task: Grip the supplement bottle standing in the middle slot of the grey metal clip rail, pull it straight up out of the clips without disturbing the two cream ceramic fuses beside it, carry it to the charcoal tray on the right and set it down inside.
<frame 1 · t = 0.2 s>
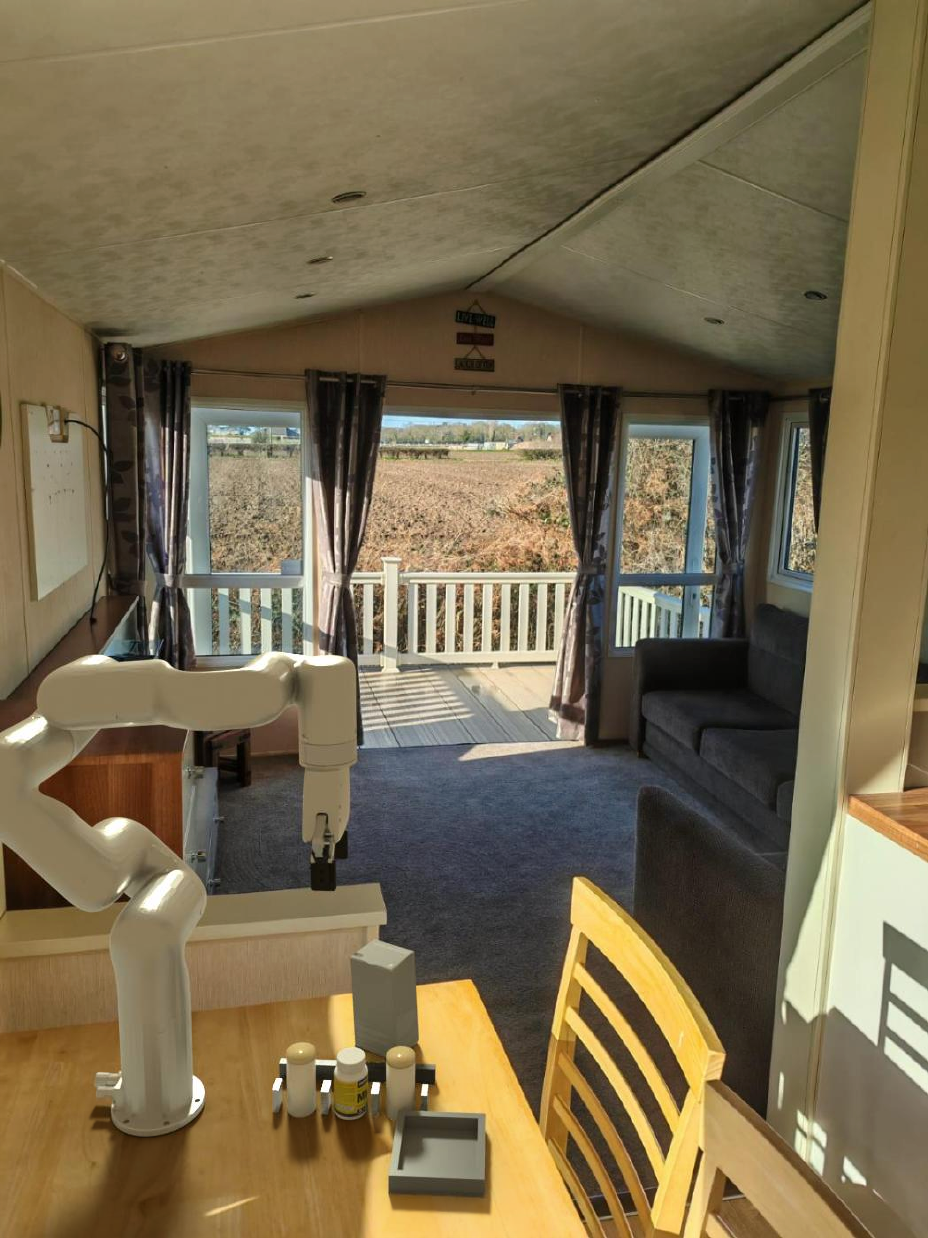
hand: (330, 873, 126), 36 cm above the table, tool pointing down, fingers open, 9 cm apart
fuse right: (400, 1111, 133), on the table
skincare box: (384, 1046, 148), on the table
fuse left: (301, 1107, 133), on the table
clip rail: (350, 1109, 133), on the table
tray: (439, 1160, 124), on the table
supplement bottle: (350, 1111, 133), on the table
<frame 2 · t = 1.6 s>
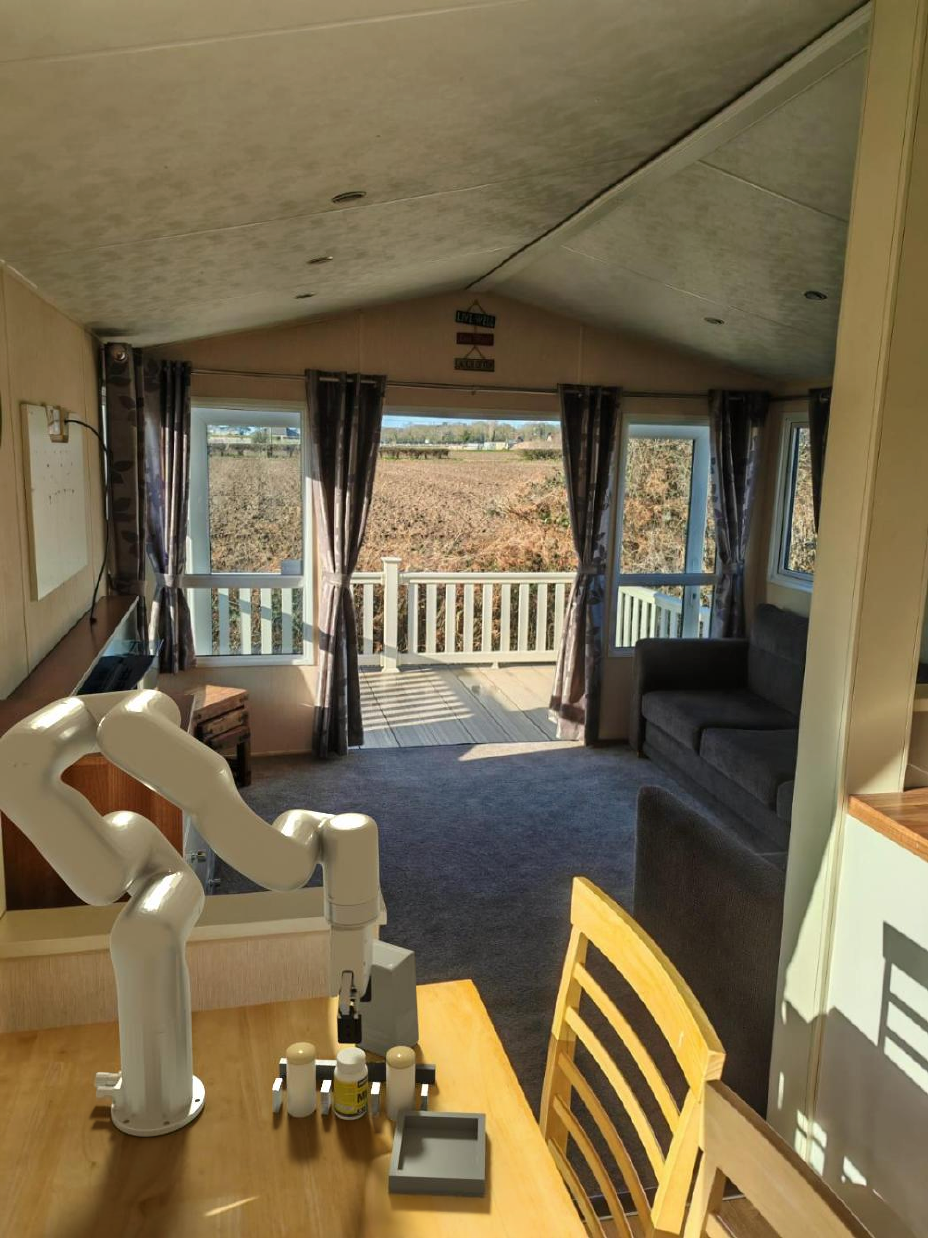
hand: (355, 1021, 131), 14 cm above the table, tool pointing down, fingers open, 9 cm apart
nothing on the table moved.
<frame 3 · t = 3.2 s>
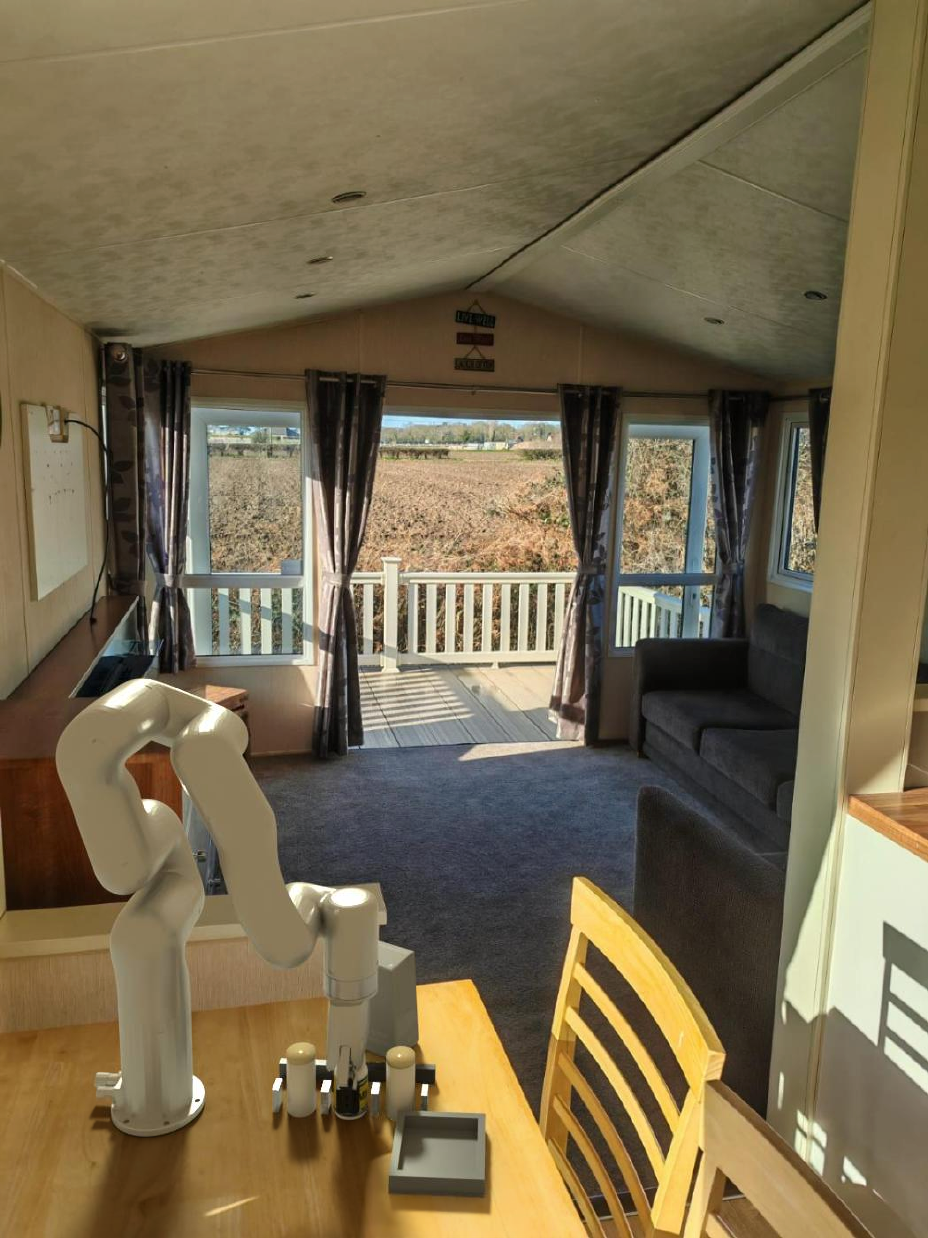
hand: (350, 1097, 133), 2 cm above the table, tool pointing down, fingers closed on supplement bottle, 4 cm apart
supplement bottle: (350, 1111, 133), on the table, touching gripper
everything else where it was.
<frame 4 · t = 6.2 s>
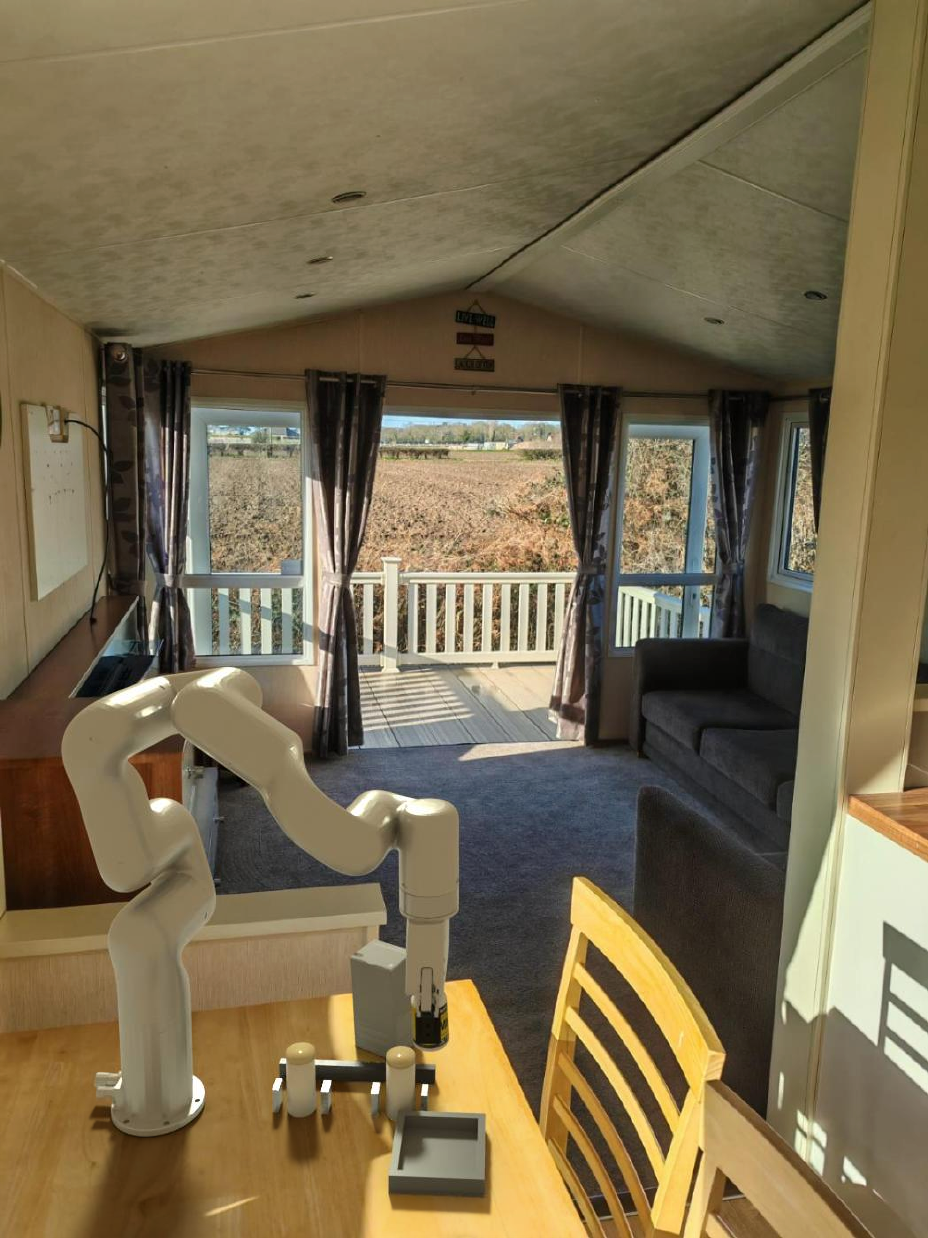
hand: (429, 1028, 122), 18 cm above the table, tool pointing down, fingers closed on supplement bottle, 4 cm apart
supplement bottle: (431, 1043, 123), point 16 cm above the table, touching gripper
everything else where it was.
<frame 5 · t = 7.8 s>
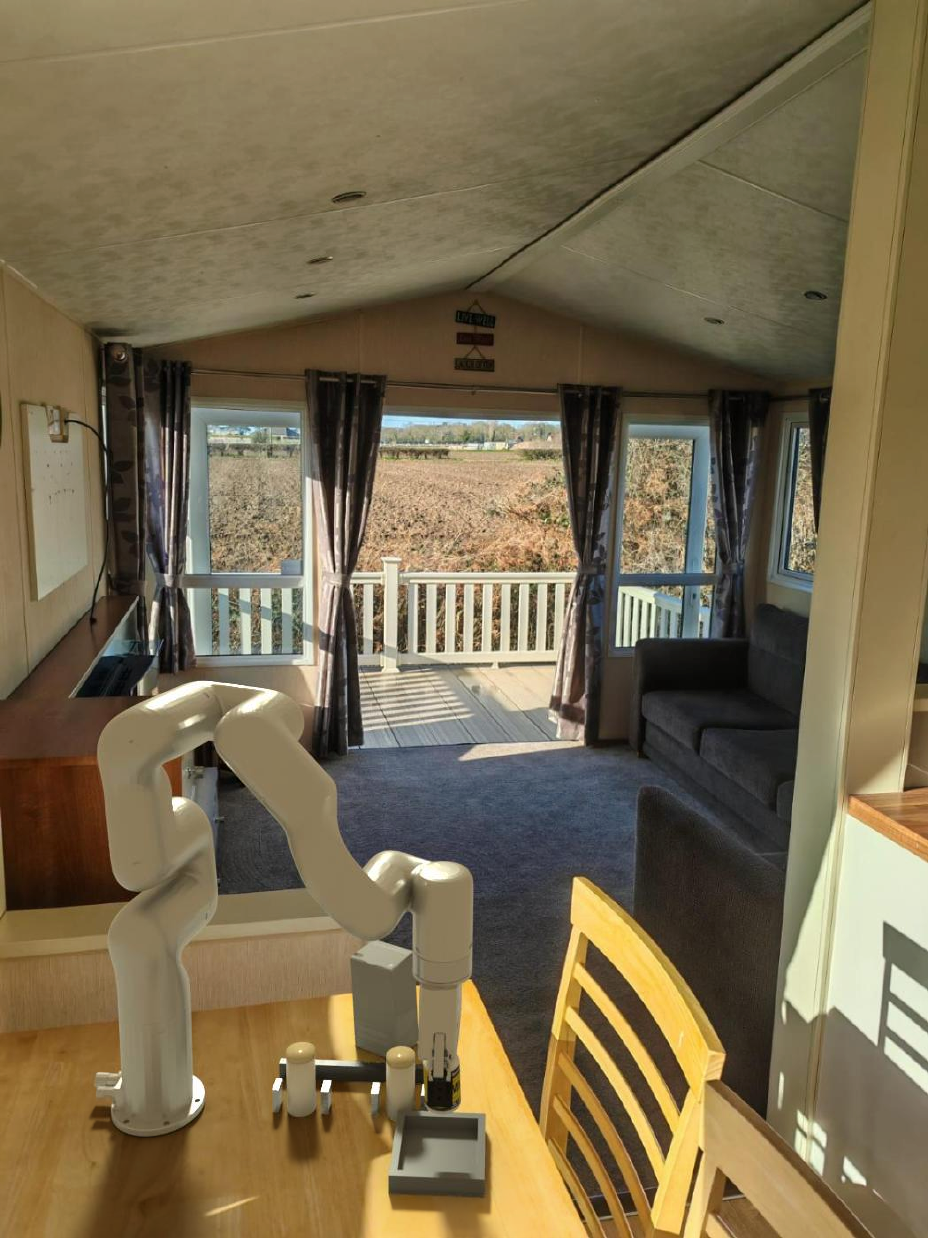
hand: (441, 1090, 122), 10 cm above the table, tool pointing down, fingers closed on supplement bottle, 4 cm apart
supplement bottle: (443, 1104, 122), point 8 cm above the table, touching gripper
everything else where it was.
when the fingers open (4 cm above the table, at t = 9.3 s): supplement bottle drops 1 cm, resting on tray.
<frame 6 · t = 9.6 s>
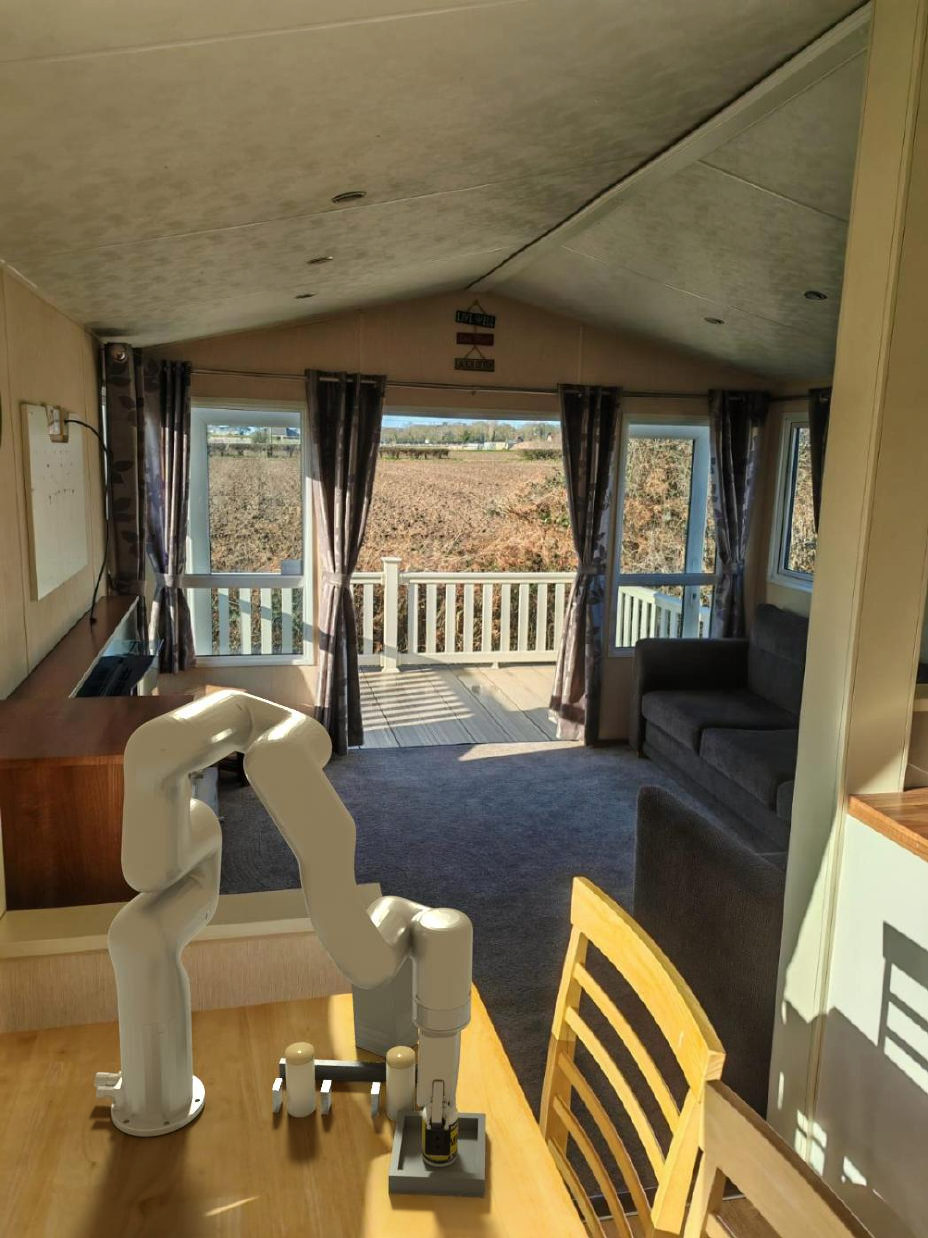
hand: (439, 1131, 123), 4 cm above the table, tool pointing down, fingers open, 7 cm apart
supplement bottle: (439, 1156, 124), resting on tray
everything else where it was.
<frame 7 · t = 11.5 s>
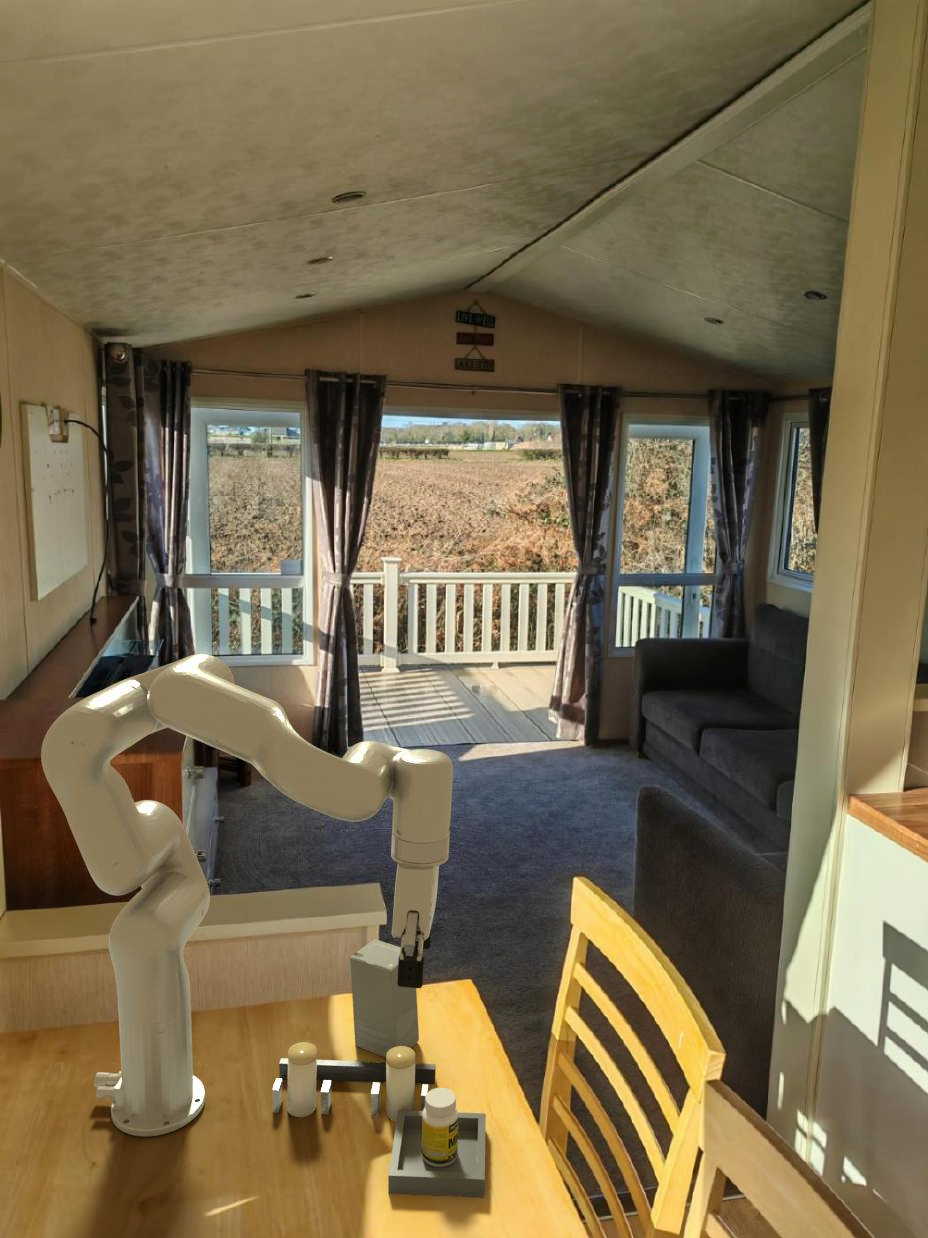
hand: (414, 966, 126), 24 cm above the table, tool pointing down, fingers open, 9 cm apart
nothing on the table moved.
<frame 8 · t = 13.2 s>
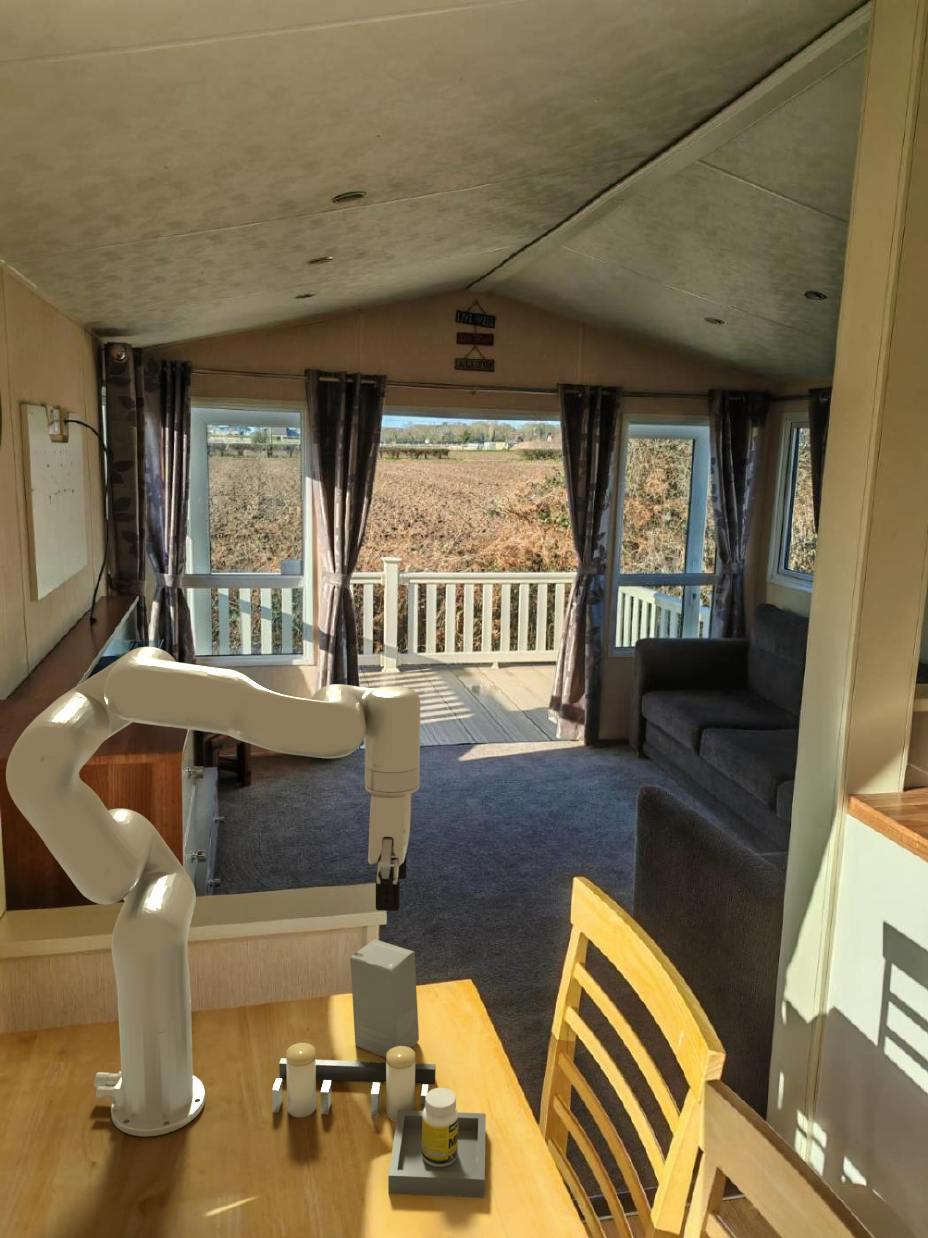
hand: (391, 893, 133), 30 cm above the table, tool pointing down, fingers open, 9 cm apart
nothing on the table moved.
at the end: supplement bottle inside the target area on the tray (0.1 cm from its centre), point 0.4 cm above the tray's base; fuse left moved 0.0 cm from its start; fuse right moved 0.0 cm from its start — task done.
